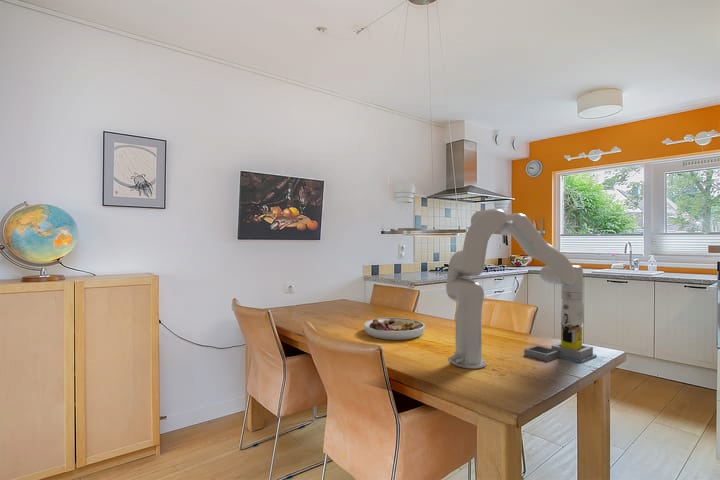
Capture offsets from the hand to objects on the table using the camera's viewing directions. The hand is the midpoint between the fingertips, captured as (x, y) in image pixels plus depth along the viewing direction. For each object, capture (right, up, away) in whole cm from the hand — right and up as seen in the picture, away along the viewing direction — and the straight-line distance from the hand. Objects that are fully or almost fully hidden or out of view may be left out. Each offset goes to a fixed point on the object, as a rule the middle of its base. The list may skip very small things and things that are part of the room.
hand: (571, 340), depth 153 cm
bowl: (-68, -7, +37) cm, 78 cm away
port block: (0, -6, 0) cm, 6 cm away
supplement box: (0, -6, 0) cm, 6 cm away
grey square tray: (-12, -6, 0) cm, 14 cm away
